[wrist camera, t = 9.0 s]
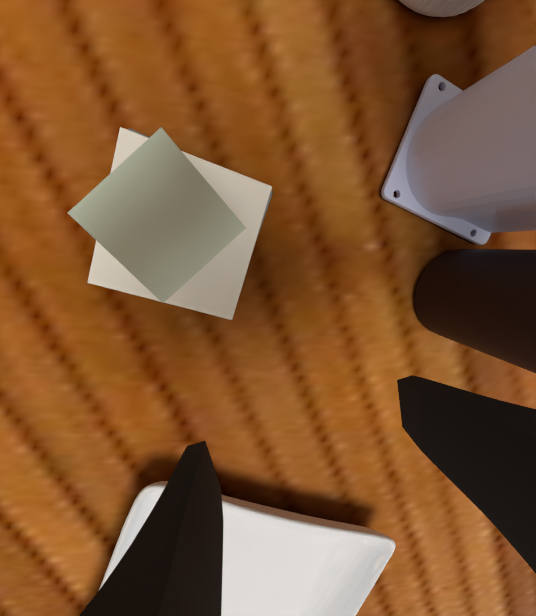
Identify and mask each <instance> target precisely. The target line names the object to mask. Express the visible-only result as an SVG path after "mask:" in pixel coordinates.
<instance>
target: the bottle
mask: <svg viewBox="0 0 536 616" xmlns="http://www.w3.org/2000/svg"><path fill="white" fill-rule="evenodd" d="M415 310H416V312H417V315H418V317H419V320H420V321H421V322H422V323H423V324H424V326H425V327H426V328H427V329H428V330H430V331H432V332H434V333H436V334H438V335H440V336H443V337H446V338H448V339H451V340H453V341H456V342H458V343H461V344H463V345H466V346H468V347H471V348H473V349H476V350H478V351H481V352H483V353H486V354H488V355H491V356H493V357H496V358H499V359H501V360H504V361H506V362H509V363H511V364H514V365H516V366H519V367H521V368H524V369H526V370H529V371H531V372H534V373H536V250H504V249H459V250H454V251H450V252H446V253H444V254H443V255H441V256H439V257H438V258H436V259H434V260H433V261H432V262H431V263H430V264H429V265H428V267H427V268H426V269H425V270H424V272H423V273H422V275H421V277H420V279H419V281H418V283H417V288H416V292H415Z"/></svg>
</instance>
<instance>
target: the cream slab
mask: <svg viewBox="0 0 536 616" xmlns="http://www.w3.org/2000/svg"><path fill="white" fill-rule="evenodd" d="M148 139H149V138H147V137H144V136H142V135H139V134H137V133H134V132H132V131H129V130H127V129H124V128H121V127H120V131H119V135H118V140H117V145H116V150H115V154H114V159H113V164H112V169H111V173H112V172H113V171H114V170H115V169H116V168H117V167H118V166H119V165H120V164H121V163H122V162H124V161H125V160H126V159H127V158H128V157H129V156H130V155H131V154H132V153H133V152H134V151H136V150H137V149H138V148H139V147H140V146H141V145H142V144H143V143H144V142H145V141H146V140H148ZM182 153H183V154H184V155H185V156H186V157H187V158H188V160H189V161H190V162H191V163H192V164H193V166H194V167H195V168H196V169H197V170H198V171H199V173H200V174H201V175H202V176H203V177H204V179H205V180H206V181H207V182H208V183H209V185H210V186H211V187H212V188H213V189H214V190H215V192H216V193H217V194H218V195H219V196H220V198H221V199H222V200H223V201H224V202H225V203H226V205H227V206H228V207H229V208H230V209H231V211H232V212H233V213H234V214H235V215H236V216H237V218H238V219H239V220H240V221H241V222H242V224H243V225H244V226H245V227H246V229H244V230H243V231H242V232H241V233H240V234H239V235H238V236H237V237H236V238H235V239H233V240H232V241H231V242H230V243H229V244H228V245H227V246H226V247H225V248H224V249H222V250H221V251H220V252H219V253H218V254H217V255H216V256H215V257H214V258H213V259H211V260H210V261H209V262H208V263H207V264H206V265H205V266H204V267H203V268H202V269H200V270H199V271H198V272H197V273H196V274H195V275H194V276H193V277H192V278H191V279H189V280H188V281H187V282H186V283H185V284H184V285H183V286H182V287H181V288H180V289H178V290H177V291H176V292H175V293H174V294H173V295H172V296H171V297H170V298H169V299H167V300H166V301H165V302H164V303H168V304H172V305H176V306H179V307H183V308H187V309H191V310H195V311H199V312H203V313H206V314H210V315H214V316H218V317H222V318H226V319H230V320H232V319H233V315H234V312H235V309H236V305H237V302H238V299H239V295H240V292H241V289H242V285H243V282H244V279H245V275H246V272H247V269H248V265H249V262H250V259H251V255H252V252H253V249H254V245H255V242H256V239H257V235H258V232H259V229H260V225H261V222H262V219H263V215H264V212H265V209H266V205H267V202H268V199H269V195H270V192H271V189H272V186H270V185H267V184H264V183H262V182H259V181H257V180H254V179H252V178H249V177H247V176H244V175H241V174H239V173H236V172H234V171H231V170H229V169H226V168H224V167H221V166H218V165H216V164H213V163H211V162H208V161H206V160H203V159H201V158H198V157H196V156H193V155H190V154H188V153H185V152H183V151H182ZM88 283H91V284H95V285H98V286H102V287H106V288H110V289H114V290H118V291H122V292H125V293H129V294H133V295H137V296H141V297H145V298H149V299H152V300H156V301H160V300H159V299H158V298H157V297H155V296H154V295H153V294H152V293H151V292H150V291H149V290H148V289H147V288H146V287H145V286H144V285H143V284H142V283H141V282H140V281H139V280H138V279H137V278H135V277H134V276H133V275H132V274H131V273H130V272H129V271H128V270H127V269H126V268H125V267H124V266H123V265H122V264H121V263H120V262H119V261H118V260H117V259H115V258H114V257H113V256H112V255H111V254H110V253H109V252H108V251H107V250H106V249H105V248H104V247H103V246H102V245H101V244H100V243H99V242H98V241H97V240H96V245H95V249H94V254H93V259H92V264H91V268H90V273H89V278H88ZM160 302H161V301H160Z"/></svg>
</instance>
